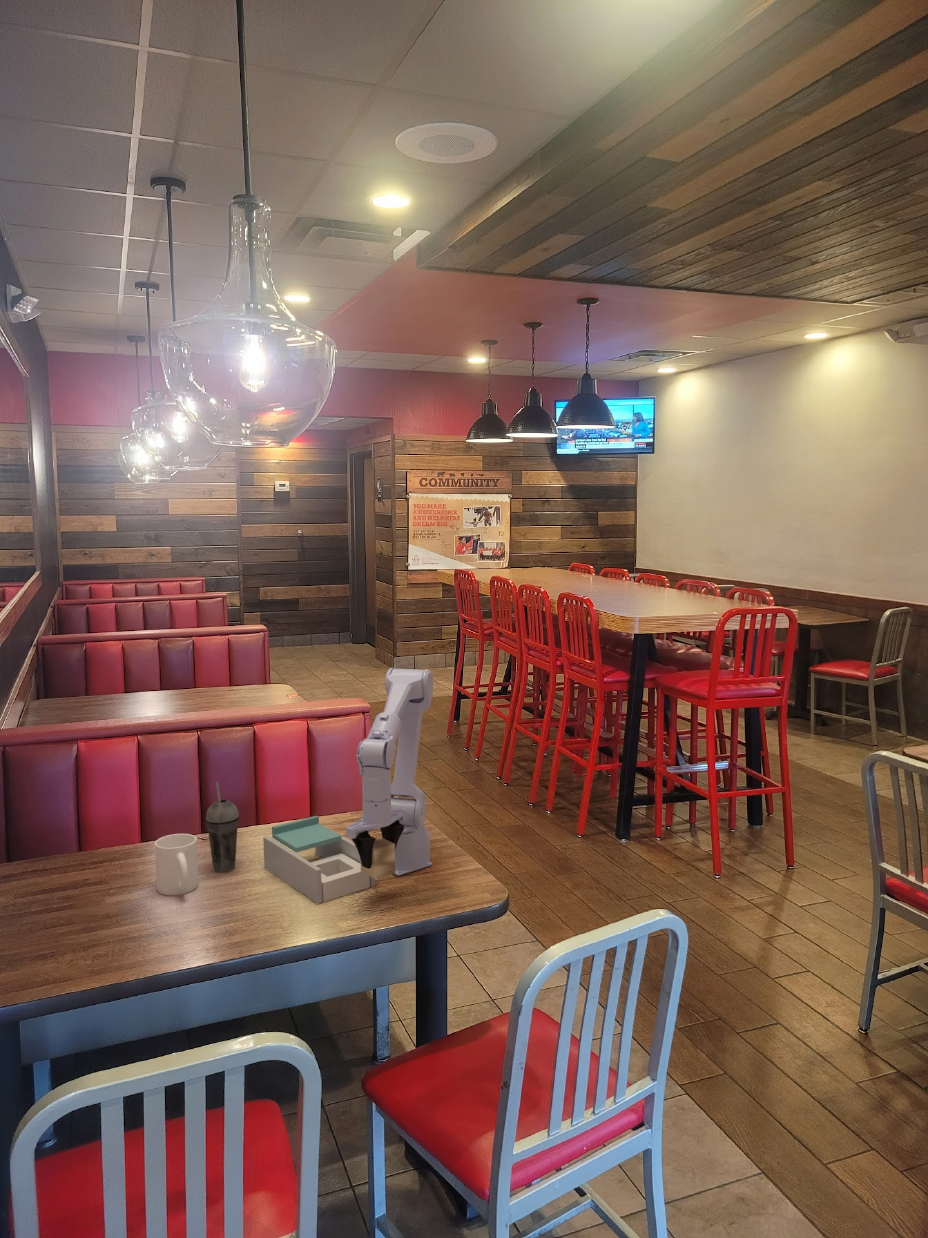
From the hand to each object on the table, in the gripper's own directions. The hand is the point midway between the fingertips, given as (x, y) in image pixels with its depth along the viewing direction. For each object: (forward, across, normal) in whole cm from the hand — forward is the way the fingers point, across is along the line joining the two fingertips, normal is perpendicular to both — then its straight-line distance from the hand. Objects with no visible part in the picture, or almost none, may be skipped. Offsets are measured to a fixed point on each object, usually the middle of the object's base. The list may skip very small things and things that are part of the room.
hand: (377, 862), depth 175 cm
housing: (+8, +2, -18) cm, 19 cm away
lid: (0, +1, -22) cm, 22 cm away
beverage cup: (+8, +13, -36) cm, 39 cm away
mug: (+8, +26, -33) cm, 42 cm away
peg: (+2, 0, 0) cm, 2 cm away
